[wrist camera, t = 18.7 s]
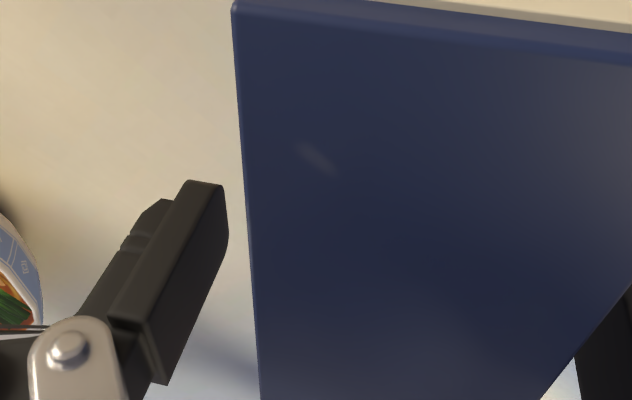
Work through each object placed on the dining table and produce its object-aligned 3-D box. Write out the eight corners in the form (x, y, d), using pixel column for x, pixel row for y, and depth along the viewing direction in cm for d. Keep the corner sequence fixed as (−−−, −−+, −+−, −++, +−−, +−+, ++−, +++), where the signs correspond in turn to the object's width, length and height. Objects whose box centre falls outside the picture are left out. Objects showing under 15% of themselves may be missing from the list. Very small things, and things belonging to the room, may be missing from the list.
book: (427, 546, 12) (816, 70, 3) (266, 507, 13) (218, -7, 4) (445, 105, 27) (528, -216, 17) (368, 93, 27) (410, -225, 18)
